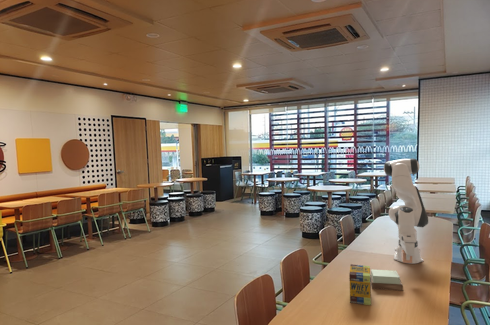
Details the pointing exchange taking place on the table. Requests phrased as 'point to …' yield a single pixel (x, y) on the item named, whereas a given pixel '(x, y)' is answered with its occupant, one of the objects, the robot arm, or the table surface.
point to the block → (403, 257)
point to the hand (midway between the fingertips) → (406, 257)
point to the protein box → (360, 284)
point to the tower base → (386, 286)
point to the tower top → (385, 276)
